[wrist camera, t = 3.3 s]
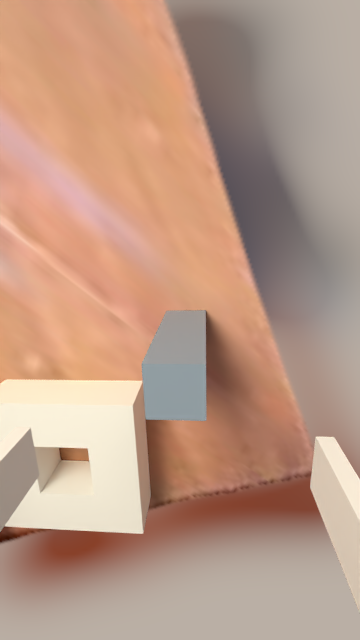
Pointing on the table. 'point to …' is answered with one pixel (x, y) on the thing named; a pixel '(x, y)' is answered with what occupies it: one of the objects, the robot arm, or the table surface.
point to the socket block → (82, 432)
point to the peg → (176, 368)
